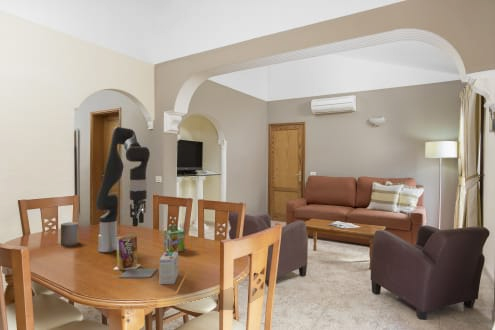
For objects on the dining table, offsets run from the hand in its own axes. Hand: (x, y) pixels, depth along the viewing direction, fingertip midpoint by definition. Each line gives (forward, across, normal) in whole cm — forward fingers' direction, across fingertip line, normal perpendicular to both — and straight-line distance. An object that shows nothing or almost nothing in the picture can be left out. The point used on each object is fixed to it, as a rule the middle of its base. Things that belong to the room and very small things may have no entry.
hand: (138, 224), depth 141 cm
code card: (+23, -9, -9) cm, 26 cm away
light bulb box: (+23, +7, +16) cm, 29 cm away
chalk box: (+23, -37, +8) cm, 44 cm away
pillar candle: (+23, -51, -62) cm, 84 cm away
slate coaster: (+23, 0, 0) cm, 23 cm away
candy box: (+23, -9, -9) cm, 26 cm away
